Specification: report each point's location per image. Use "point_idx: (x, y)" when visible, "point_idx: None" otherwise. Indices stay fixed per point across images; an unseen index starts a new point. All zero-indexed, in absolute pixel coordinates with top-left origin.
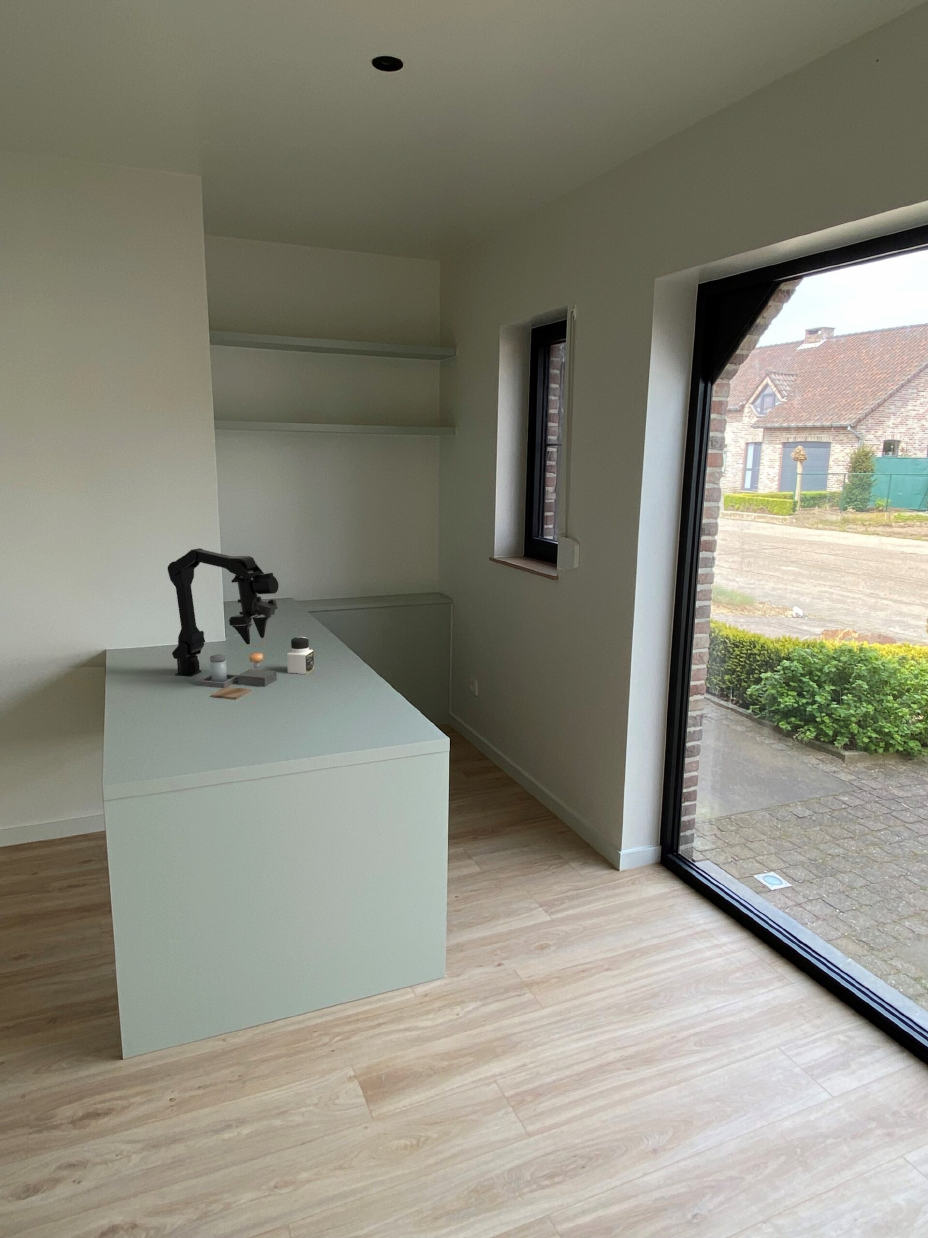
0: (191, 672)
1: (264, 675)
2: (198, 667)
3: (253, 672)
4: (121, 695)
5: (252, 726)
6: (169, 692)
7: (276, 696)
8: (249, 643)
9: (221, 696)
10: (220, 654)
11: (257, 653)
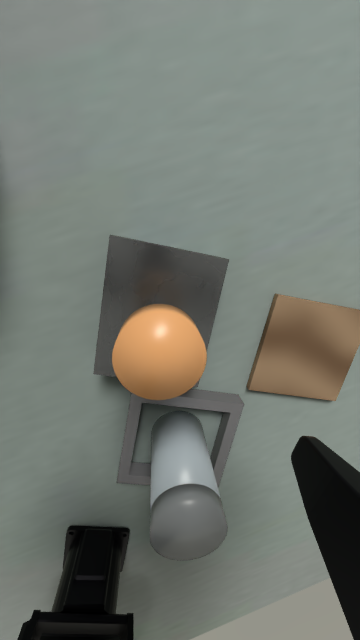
0: (113, 541)
1: (191, 272)
2: (89, 545)
3: None
4: (301, 583)
5: None
6: (282, 510)
7: (349, 162)
8: (317, 439)
9: (349, 364)
10: (150, 538)
11: (130, 360)
